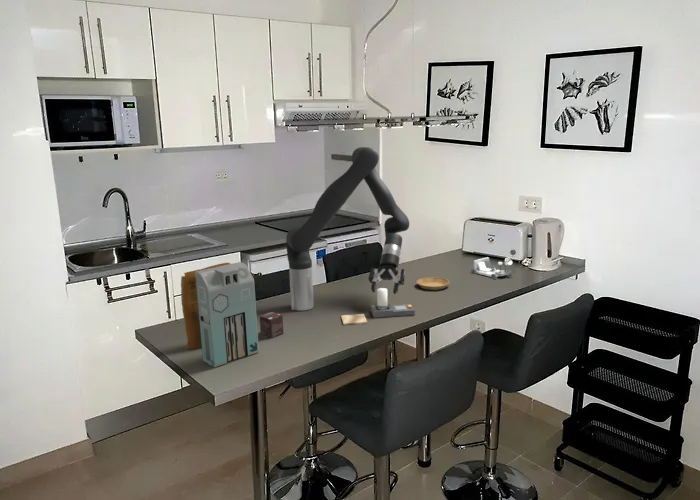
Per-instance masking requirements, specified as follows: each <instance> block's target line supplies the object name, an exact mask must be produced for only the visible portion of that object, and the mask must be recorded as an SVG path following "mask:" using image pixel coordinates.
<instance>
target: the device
mask: <svg viewBox="0 0 700 500" xmlns="http://www.w3.org/2000/svg"><path fill="white" fill-rule="evenodd" d="M195 275H196V286H197V297H198V308H199V319H200V330H201V341H202V348H201V350H202V361H203V362H204V363H206V364H208V365H209V366H211V367H213V368H218V367H220V366H222V365H223V366H224V365H226V364H229V363H231V362H235V361H238V360H240V359H242V358H246V357H248V356H252V355H255V354H257V353H259V350H260V348H259V337H258V336H259V335H258V334H259V333H258V321H257V320H258V319H257V306H256V291H255V289H256V288H255V279H254V276H253V275H252V273H251V271H250V270H249V267H248V266H247V265H246V264H245V263H244V262H241V261H238V262H233V263H231V264H228V265H224V266H219V267H214V268H210V269H205V270H201V271H196V272H195Z"/></svg>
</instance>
